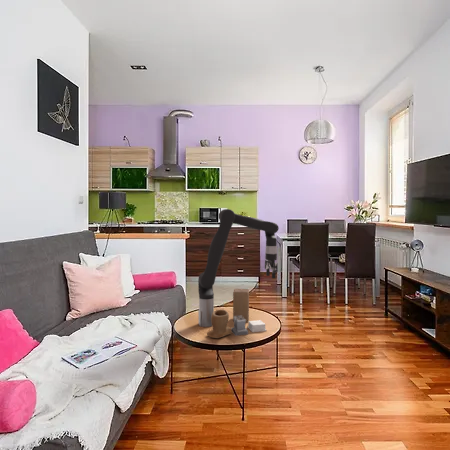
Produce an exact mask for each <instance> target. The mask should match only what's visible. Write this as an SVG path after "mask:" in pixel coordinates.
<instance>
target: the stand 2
mask: <svg viewBox="0 0 450 450" xmlns="http://www.w3.org/2000/svg"><path fill="white" fill-rule="evenodd" d="M246 327H247V329H249V330H250V332H252V333H258V332H259V333H260V332H267V329H266V323H265V322H264V321H262V319H258V320H249V321H248V326H246Z"/></svg>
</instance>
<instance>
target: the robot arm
mask: <svg viewBox="0 0 450 450" xmlns="http://www.w3.org/2000/svg"><path fill="white" fill-rule="evenodd" d="M218 220H219V221H220V222H219V225H218V229H217V231H216V232H215V234H214V236H213V237H212V240H211V242H210V245H209V249H208V253H207V258H206V259H207V261H206V262H207V263H206V266H205V269H204V271H203V272H201V273H200V274H199V275H198V281H197V282H198V283H197V284H198V288H197V289H198V326H199V327H204V328H208V327H212V323H211V315H212V313H213V312H214V311H215V307H214V306H215V305H214V304H215V302H214V301H215V299H214V298H215V297H214V296H215V294H214V287H213V286H214V284H215V282H216V277H217V276H216V275H217V272H218V269H219V266H220V263H221V260H222V257H223V254H224V252H225V248H226V246H227V242H228V238H229V235H230V232H231V229H232V226H233V224H234V225H239V226H242V227H243V226H244V227H247V228H249V229H252V230H256V231H263V232H264V234H265V255H264V258H265V260H264V269H265V273H266V274H265V275H266V277H270V274H271V278H272V279H276V275H277V274H276V273H278V262H276V261H277V260H278V246H277V245H278V243H277V241H278V240H277V239H278V238H277V237H276V233H277V232H278V231H279V229H280V228H279V225H278V223H276V222H273V221H267V220H263V219H260V218H256V217H251V216H246V215H241V214H238V213H235V212H234V211H233V210H232V209H229V208H228V209H227V208H225V209H222V210H221V211H220V212H219V213H218ZM270 270H271V271H270Z"/></svg>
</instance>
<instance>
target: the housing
mask: <svg viewBox="0 0 450 450" xmlns="http://www.w3.org/2000/svg"><path fill="white" fill-rule="evenodd" d="M245 321H246V319H245V318H244V317H243V316H242V315H240V316H239V315H237V316H234V321H233V327H234V328H235V330H236V331H237V332H242V331H246V329H247V328H246V322H245ZM245 328H246V329H245Z"/></svg>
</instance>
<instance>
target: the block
mask: <svg viewBox="0 0 450 450" xmlns="http://www.w3.org/2000/svg"><path fill="white" fill-rule="evenodd" d="M237 315H239V316H240V315H242V316H243V317H244V318H245V319H246V321H245V323H249V321H250V290H249V288H234V289H233V292H232V321H233V322H234V316H237Z"/></svg>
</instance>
